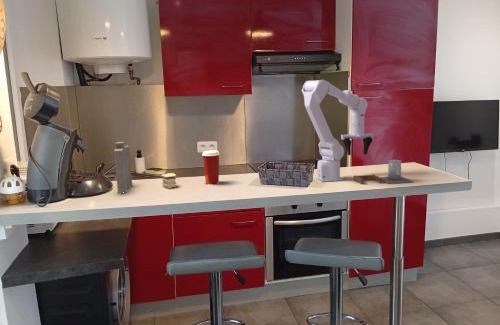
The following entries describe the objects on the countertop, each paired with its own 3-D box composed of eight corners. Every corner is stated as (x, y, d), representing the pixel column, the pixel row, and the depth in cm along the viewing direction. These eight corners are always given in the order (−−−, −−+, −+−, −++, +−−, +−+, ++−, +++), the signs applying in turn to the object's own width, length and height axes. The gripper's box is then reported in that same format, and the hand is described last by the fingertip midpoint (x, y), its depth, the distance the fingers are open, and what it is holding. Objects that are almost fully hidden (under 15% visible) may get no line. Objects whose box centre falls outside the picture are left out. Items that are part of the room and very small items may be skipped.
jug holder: (361, 184, 167) (361, 179, 167) (353, 180, 175) (354, 175, 174) (382, 183, 168) (382, 178, 168) (373, 179, 176) (374, 174, 176)
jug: (393, 181, 167) (394, 162, 166) (386, 178, 174) (386, 160, 173) (405, 181, 168) (405, 162, 167) (397, 177, 175) (397, 159, 174)
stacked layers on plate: (184, 188, 172) (183, 175, 171) (164, 191, 167) (163, 178, 166) (174, 184, 180) (174, 171, 179) (155, 187, 175) (154, 174, 174)
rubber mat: (387, 184, 166) (387, 182, 166) (376, 178, 177) (376, 177, 177) (413, 182, 168) (413, 181, 168) (400, 177, 178) (400, 176, 178)
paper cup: (224, 181, 180) (222, 150, 177) (215, 185, 173) (214, 153, 170) (208, 180, 183) (207, 150, 180) (199, 184, 176) (198, 152, 174)
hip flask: (125, 193, 164) (121, 144, 160) (114, 194, 163) (110, 144, 160) (132, 184, 179) (129, 139, 176) (123, 185, 179) (119, 140, 176)
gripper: (345, 125, 177) (344, 156, 179) (376, 124, 179) (376, 155, 181) (339, 124, 184) (339, 154, 186) (370, 123, 186) (369, 152, 188)
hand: (357, 154), depth 184 cm, fingers open, 7 cm apart
